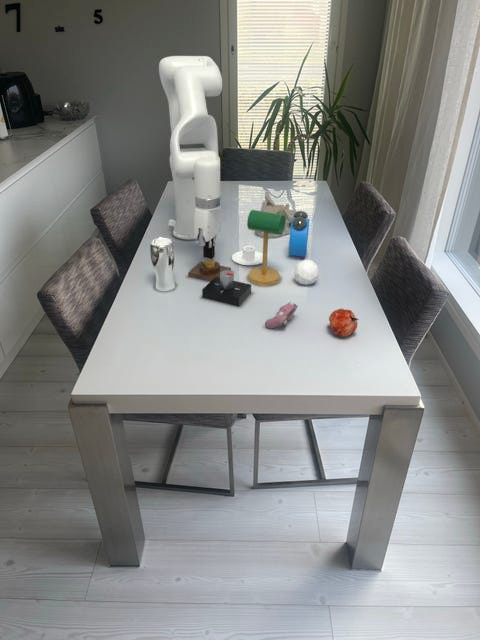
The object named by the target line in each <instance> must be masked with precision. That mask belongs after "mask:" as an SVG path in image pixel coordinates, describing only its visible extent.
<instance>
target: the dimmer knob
mask: <svg viewBox="0 0 480 640" xmlns="http://www.w3.org/2000/svg"><path fill="white" fill-rule="evenodd" d="M234 281H235V273H234V271H232V270H231V271H230V270H224V271H222V272H220V287H221V289H224V290H230V289H232V288H233V287H234Z"/></svg>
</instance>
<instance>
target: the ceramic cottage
mask: <svg viewBox="0 0 480 640" xmlns="http://www.w3.org/2000/svg"><path fill="white" fill-rule="evenodd" d="M264 192H265V193H264V200H263V201H262V204H261V207H260V211H264V212H270V213H276V214H282V215H285V218H286V222H285V228H284V231H283V233H282V235H276V234H271V233H268V239H269V238H270V239H271V238H278V237H283V236H284V235H285V236H286V235H287V234H290V230H291V222H292V218H295V217H294V214H295V213H296V212H297V210H296V209H290V203H288V202H287V203H286V204H285V205H284V204H283V203H282V204H275V202H274V200H273V199H272V197H271V196H270V193H269V190H265V191H264ZM255 235H257V236H258V237H260V238H264V232H260V231H255Z"/></svg>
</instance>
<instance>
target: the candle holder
mask: <svg viewBox="0 0 480 640" xmlns="http://www.w3.org/2000/svg"><path fill="white" fill-rule="evenodd" d="M231 260H232V262H234V263H236V264H239V265H244V266H255V265H256V266H258V265H262V262H263V252H261V251H258V250H256V248H255V246H252V245H245V246H243V247H242V250H239V251H235V253H233V254H232V255H231Z"/></svg>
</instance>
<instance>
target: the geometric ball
mask: <svg viewBox="0 0 480 640" xmlns="http://www.w3.org/2000/svg"><path fill="white" fill-rule="evenodd" d="M293 274H294V278H295V280H296V281H297V282H298V283H299V284H300V285H305V286H308V285H312V284H313V283H315V282H316V281H317V279H319V275H320V269H319V266H318V264H317V263H315V262H314V261H313V260H311V259H303V260H301V261H299V262H298V263H297V264H296V265H295V266H294V269H293Z"/></svg>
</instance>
